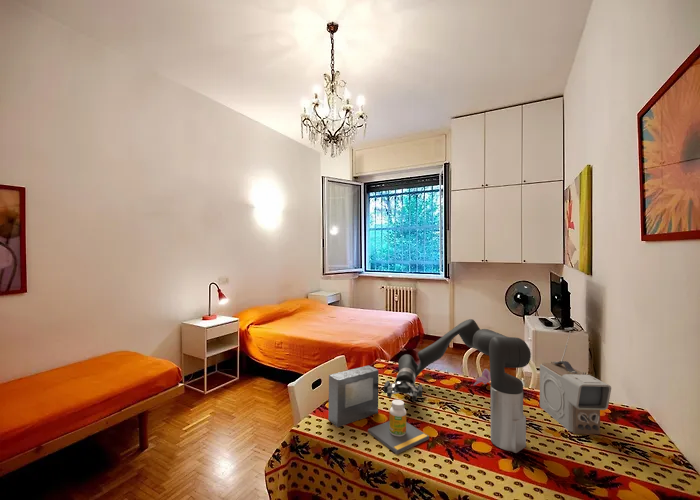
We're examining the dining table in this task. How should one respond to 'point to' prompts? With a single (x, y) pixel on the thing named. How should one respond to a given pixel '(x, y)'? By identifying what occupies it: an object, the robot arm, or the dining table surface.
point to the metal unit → (353, 395)
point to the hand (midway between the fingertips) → (401, 397)
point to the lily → (483, 377)
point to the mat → (398, 437)
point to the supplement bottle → (397, 418)
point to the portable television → (572, 396)
